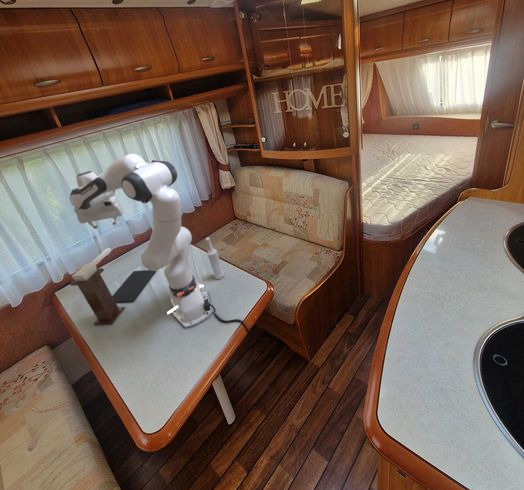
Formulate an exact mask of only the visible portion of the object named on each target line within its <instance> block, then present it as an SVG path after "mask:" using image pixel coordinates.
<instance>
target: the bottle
mask: <svg viewBox="0 0 524 490" xmlns="http://www.w3.org/2000/svg"><path fill="white" fill-rule="evenodd" d="M205 241H206V243H207V248H208V251H207V253H206V255H207V258H208V260H209V263H210V266H211V268H212V272H213V273H214V278H215V277H216V278H215V279H216V280H219V281H220V280H223V279H224V277H225V273H224V271H223V268H222V265H221V261H220V257H219V254H218V250H217V249H215V248H214V247H213V244H212V240H211V238H210V237H206V238H205ZM222 276H223V277H222ZM220 277H221V278H220Z"/></svg>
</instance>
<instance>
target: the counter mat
mask: <svg viewBox="0 0 524 490" xmlns="http://www.w3.org/2000/svg"><path fill="white" fill-rule="evenodd" d="M156 272H157V271H151V270H149V269H145V270H143V269H142V270H133V271H132V273H131V274H130V275H128V277H127V278H126V279H125V280H124V282H123V283H122V284H121V285H120V286H119V287H118V288H117V290H116V291H115V292H114V294H113V295H112V297H113V299H114V300H115V302H116V304H124V303H134V302H135V300H136V299H137V298H138V296H139V295H140V294H141V292H143V290H144V289H145V287H146V286H147V284H148V283H149V282H150V280H151V279H152V278H153V277H154V275H155V274H156Z"/></svg>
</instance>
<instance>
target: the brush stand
mask: <svg viewBox="0 0 524 490" xmlns="http://www.w3.org/2000/svg"><path fill="white" fill-rule="evenodd" d="M96 269H97V271H96V272H95V273H94V274H93V275H92V276H91V277H90V278H89V279H87V280H86V281H76V280H74V279H73V281H71V282H70V283H69V285H70V286H73V287H74V286H77V288H78V289H79V290H80V292H81V294H82V296H83V297H84V298H85V300H86V302H87V304H88V305H89V307H90V309H91V310H92V312H93V314H94V315H95V317H96V318H97V319H96V320H95V321H94V323H93V324H94V325H113V324H114V323H115V321H116V320H117V319H118V317H119V316H120V315H121V313H122V312H123V311H124V309H125V307H124V306H118V303H116V302H115V300H114V299H113V297H112V296H113V295H112V293H111V290H110V289H109V288H108V286H107V284H106V282H105V279H103V277H102V275H101V274H103V272H104V270H105V269H104V268H103V267H101V268H96Z"/></svg>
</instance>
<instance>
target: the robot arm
mask: <svg viewBox="0 0 524 490" xmlns="http://www.w3.org/2000/svg"><path fill="white" fill-rule="evenodd" d="M177 179H178V172H177V169H176V167H175V166H174V165H173V164H172V162H171V163H170V162H169V161H166V160H155V159H152V160H151V162H146V161H145V159H144V158H143V157H142V156H140V155H139V154H136V153H126V154H124V155H123V156H121V157H119V158H117V159H116V160H115V161H113V162H112V163H111V164H110V165H109V166H107V168H106V169H104V170H103V171H102V172H101V173H100V174H98V175H97V174H96V173H95V171H93V170H87V171H83V172H82V173H79V174H76V176H75V180H76V184H77V187H76V188H73V189H72V190H71V191H70V195H69V201H70V203H71V204H72V205H73V207H74V208H73V212H75V214H76V217H77V221H78V223H80V224H88V225H89V226H90V227H92V229H93V230H95V229H97V228H98V225H97V223H94V222H98V221H103V220H108V219H113V220H112V226H115V225H117V218H118V217H119V218H120V217H122V216H123V213H124V211H123V208H122V206H121V204H120V202H118V201H117V198H116V196H115V193H116V191H117V190H119V189H120V190H122V191H123V193H124V194H125V195H126V197H128V198H129V199H131V200H133V201H136V202H141V203H142V204H148V203H151V207H152V231H151V235H150V237H149V241H148V242H147V246H146V247H145V249H144V250H143V252H142V253H141V255H140V260H141V264H142V266H143V267H144V268H145V269H146V270H151V271H156V272H157V271H159V270H161V269H162V268H164V267H165V268H164V276H165V278H166V281H167V284H168V288H169V292H171V294H170V296H169V299H170V302H171V304H172V307H173V308H171V309H170V310H168V311H167V312H166V313H167V315H169V314H171V315H172V316H173V317H174V318H175V319H176V320H177V321H178V322H179V323H180V324H181V325H182V327H183V328H185V329H186V328H187V329H188V328H191V327H194V326H196V325H198V324H200V323H201V322H203V321H205V320H206V319H207V318H209V317H210V316H211V315H212V313H213V314H214V313H215V312H217V311H216V308H215V306H214V305H213V304H212V303H211V300H210V297H209V294H208V292H207V291H203V290H204V289H203V288H204V285H203V284H200V282H198V281H196V278H195V276H194V274H193V273H192V271H191V267H190V264H189V251H190V246H191V243H192V241H193V236H192V233H191V231H190V230H189V229H188V228H186V227H185V226H182V202H181V198H180V194H179V192H178V191H177V190H175V189H173V188H171V187H170V186H172V185H173V184H174V183H175V182H176V181H177ZM207 294H208V295H207ZM207 296H208V297H207ZM206 298H209V299H206ZM208 300H209V301H210V303H209V301H208ZM210 306H211V308H212V311H211V312H210V314H209V313H208V312H207V311H209V310H211V309H210ZM206 312H207V313H206ZM205 313H206V314H205ZM208 314H209V315H208ZM214 316H215V317H216V319H217V320H218V321H220V322H222V323H232V322H239V323H241V324H242V325H243V326H244V328H245V329H246V331H247V332H248V333H251V330H250V329H249V327H248V326H247V324H246V323H245V321H243V320H242V319H239V318H236V319H235V318H234V319H230V320H225V319H221V318H220V317H219V316H218V315H217V313H215V314H214ZM265 380H266V385H267V388H268V392H269V394H270V396H272V395H273V392H272V389H271V385H270V383H269V379H268V377H266V378H265Z"/></svg>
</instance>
